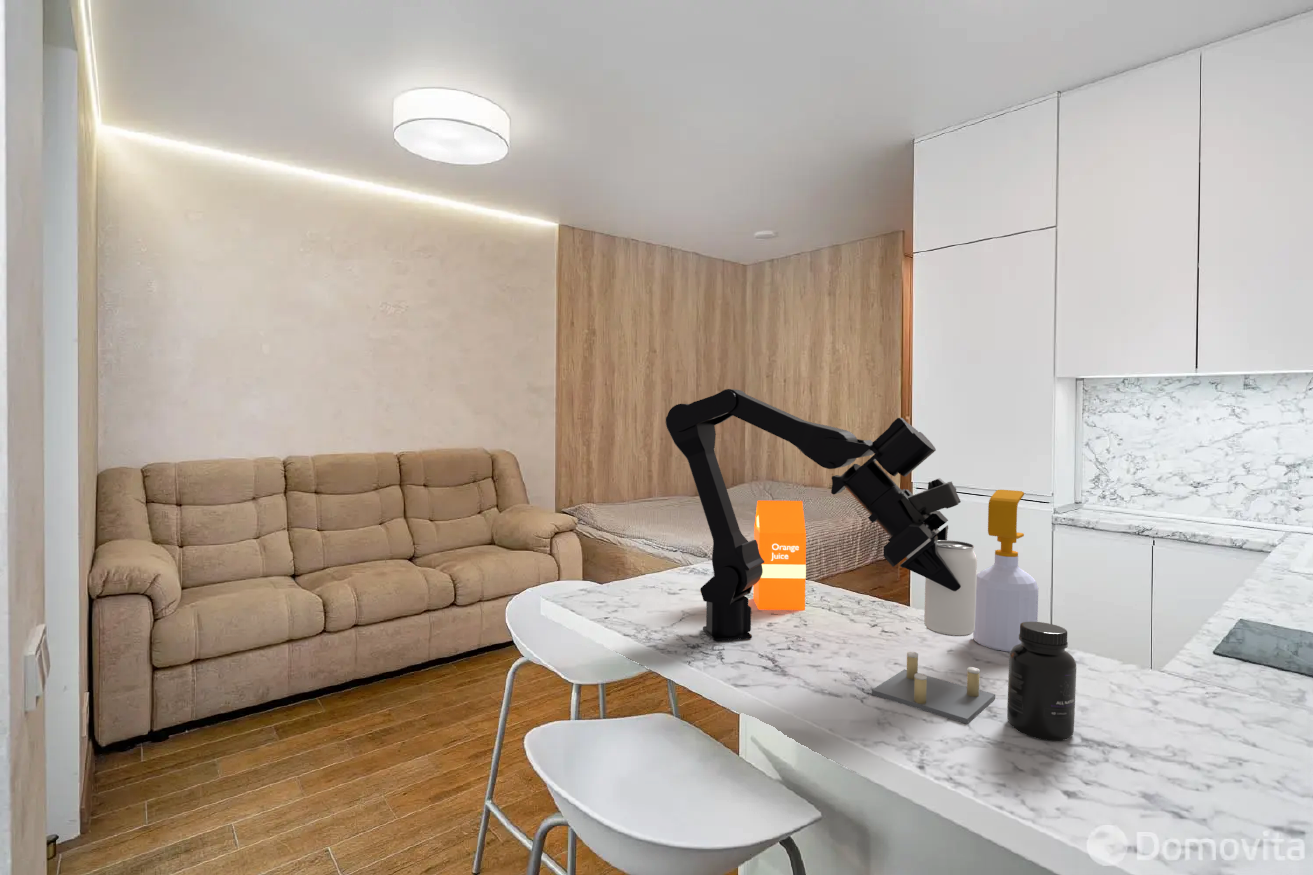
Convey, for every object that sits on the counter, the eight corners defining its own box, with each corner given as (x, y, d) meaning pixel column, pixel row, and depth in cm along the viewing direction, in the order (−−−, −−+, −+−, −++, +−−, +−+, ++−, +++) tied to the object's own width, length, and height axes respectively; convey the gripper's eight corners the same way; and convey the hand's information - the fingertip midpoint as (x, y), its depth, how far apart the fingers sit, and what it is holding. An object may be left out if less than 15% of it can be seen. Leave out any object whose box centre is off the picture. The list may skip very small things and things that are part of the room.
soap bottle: (1043, 643, 109) (1047, 491, 108) (1027, 657, 102) (1031, 495, 101) (983, 630, 115) (987, 486, 114) (965, 643, 108) (968, 490, 107)
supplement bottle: (1074, 748, 74) (1077, 640, 74) (1004, 732, 78) (1007, 629, 77) (1074, 724, 80) (1077, 624, 80) (1009, 711, 84) (1012, 614, 83)
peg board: (871, 694, 88) (872, 664, 88) (904, 673, 95) (904, 646, 95) (967, 723, 80) (968, 691, 80) (995, 698, 87) (995, 668, 87)
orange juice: (805, 610, 126) (807, 503, 125) (758, 609, 126) (759, 503, 126) (797, 598, 134) (798, 498, 133) (752, 598, 134) (754, 498, 133)
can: (982, 638, 91) (985, 549, 90) (933, 636, 91) (936, 548, 91) (963, 622, 97) (966, 540, 97) (917, 621, 98) (920, 538, 97)
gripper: (911, 464, 87) (1004, 560, 82) (934, 457, 103) (1013, 537, 98) (848, 519, 92) (933, 613, 86) (880, 504, 108) (952, 583, 102)
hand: (961, 583), depth 93 cm, fingers closed on can, 6 cm apart
